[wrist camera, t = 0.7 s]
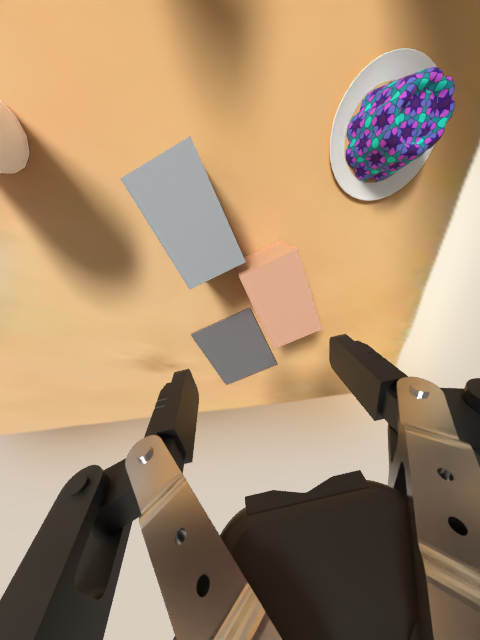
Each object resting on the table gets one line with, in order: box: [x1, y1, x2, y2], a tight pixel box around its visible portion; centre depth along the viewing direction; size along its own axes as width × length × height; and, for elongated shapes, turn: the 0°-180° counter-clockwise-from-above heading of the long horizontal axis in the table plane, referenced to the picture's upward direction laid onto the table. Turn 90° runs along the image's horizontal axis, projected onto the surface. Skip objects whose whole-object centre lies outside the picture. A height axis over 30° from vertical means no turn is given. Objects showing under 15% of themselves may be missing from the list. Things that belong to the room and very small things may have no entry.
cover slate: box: [121, 137, 246, 289], centre depth 20 cm, size 6×10×8 cm, turn 25°
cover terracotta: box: [236, 240, 322, 349], centre depth 25 cm, size 6×10×8 cm, turn 25°
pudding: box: [330, 48, 455, 201], centre depth 19 cm, size 12×12×5 cm
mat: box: [191, 308, 277, 385], centre depth 32 cm, size 10×12×1 cm
